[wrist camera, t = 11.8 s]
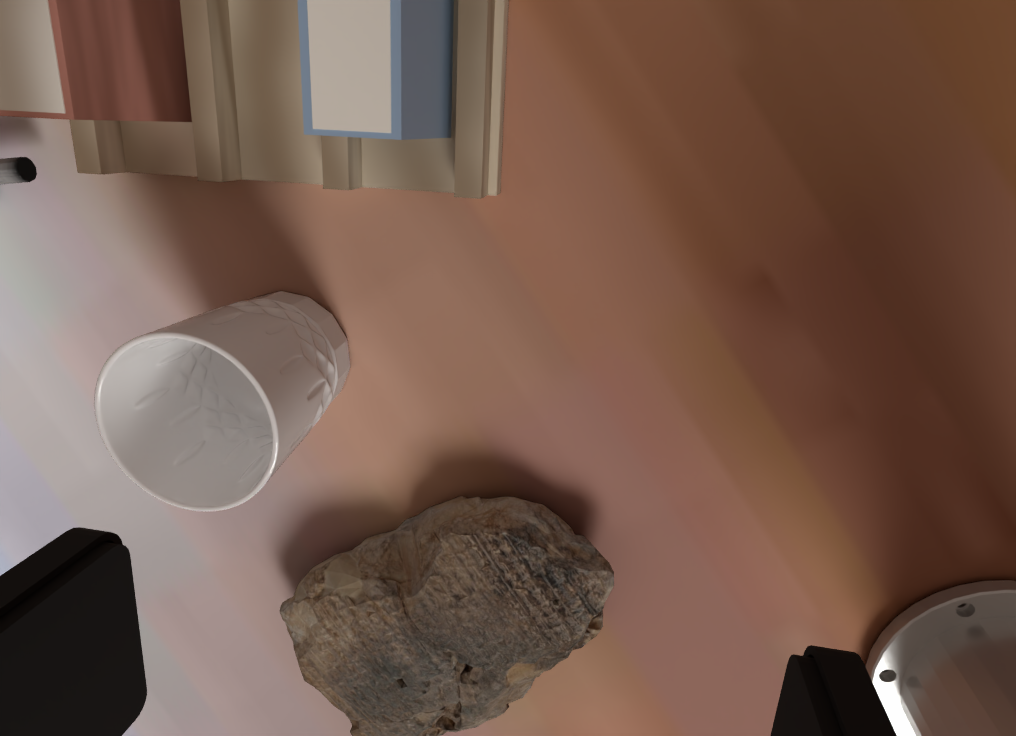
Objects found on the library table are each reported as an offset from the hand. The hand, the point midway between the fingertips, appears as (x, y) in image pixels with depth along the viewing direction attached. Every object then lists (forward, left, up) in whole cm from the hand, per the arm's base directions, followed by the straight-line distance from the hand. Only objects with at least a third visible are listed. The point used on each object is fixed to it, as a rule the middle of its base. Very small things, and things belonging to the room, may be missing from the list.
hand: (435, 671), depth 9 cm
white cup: (+14, +5, -26) cm, 30 cm away
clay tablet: (+4, +20, -26) cm, 33 cm away
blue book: (+7, -11, -25) cm, 28 cm away
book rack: (+13, -11, -26) cm, 31 cm away
